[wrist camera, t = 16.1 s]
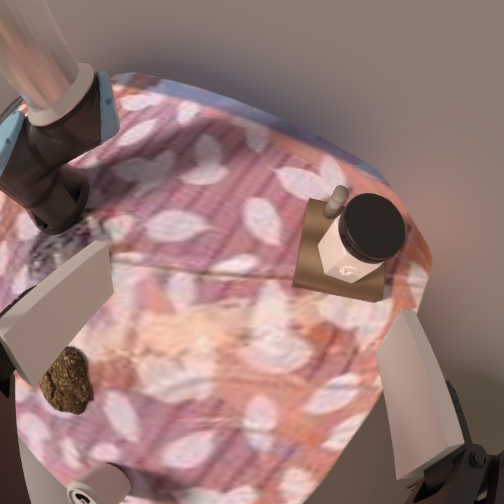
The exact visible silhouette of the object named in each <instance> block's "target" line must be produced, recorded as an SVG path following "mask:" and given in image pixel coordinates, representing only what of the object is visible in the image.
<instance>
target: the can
mask: <svg viewBox="0 0 504 504" xmlns="http://www.w3.org/2000/svg"><path fill="white" fill-rule="evenodd" d="M130 490H131V484H130V481H129V480H128V478H127V476H126V475H125V474H124V473H123V472H122V471H121V470H119V469H118V468H117V467H115V466H113V465H110V464H107V463H100V464H98V465H96V466H95V467H93V468H92V469H90V470H89V471H87V472H86V473H85V474H83V475H82V476H80V477H79V478H77V479H75V480H74V481H72V482H71V483H70V484H69V486H68V491H67V496H68V499H69V501H70V502H71V504H119V503H120V502H121V501H122V500H123V499H124V498H125V497H126V495H127V494H128V493H129V492H130Z"/></svg>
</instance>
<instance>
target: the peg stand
mask: <svg viewBox="0 0 504 504" xmlns="http://www.w3.org/2000/svg"><path fill="white" fill-rule="evenodd" d="M348 194H349V191H348V189H347V188H346V187H345V186H342V185H339V186H337V187H336V188H335V190H334V192H333V194H332V196H331V198H330V200H329V201H328V202H324V201H320V200H316V199H312V198H309V201H308V203H307V206H306V211H305V217H304V223H303V229H302V235H301V241H300V246H299V252H298V258H297V263H296V268H295V274H294V279H293V284H292V286H294V287H299V288H303V289H308V290H313V291H318V292H323V293H328V294H332V295H337V296H342V297H347V298H353V299H358V300H363V301H368V302H373V303H375V302H377V301H380V300H382V297H383V288H384V276H385V263H386V261H384V262H383V263H382V264H381V266H380V267H379V268H377V269H375V270H374V271H372V272H371V273H369V274H367V275H366V276H364V277H362V278H361V279H359V280H357V281H356V282H354V283H349V282H346V281H343V280H340V279H337V278H334V277H332V276H329V275H326V274H325V273H324V269H323V265H322V261H321V257H320V253H319V249H318V244H319V242H320V241H321V239H322V238H323V236H324V235H325V234H326V232H327V231H328V229H329V228H330V226H331V225H332V223H333V222H334V220H335V219H336V218H337V217H338V216H339V215H341V214H342V212H343V210H344V209H345V207H344V206H342V204H343V203H344V201H345V200H346V198H347V196H348ZM386 199H387V198H386ZM387 200H389V199H387ZM389 201H390V200H389ZM390 202H391V201H390ZM391 203H392V202H391Z"/></svg>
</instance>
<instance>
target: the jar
mask: <svg viewBox="0 0 504 504" xmlns="http://www.w3.org/2000/svg"><path fill="white" fill-rule="evenodd" d="M404 240H405V225H404V221H403V218H402V216H401V214H400V212H399V211H398V209H397V208H396V207H395V206H394V205H393V204H392V203H391V202H390V201H389V200H387V199H386V198H384V197H382V196H380V195H377V194H372V193H364V194H360V195H358V196H356V197H354V198H353V199H352V200H351V201H350V202H349V203H348V204H347V206H346V207H345V209H344V210H343V212H342V214H341V215H339V216H338V217H337V218H336V219H335V220H334V222H333V223H332V225H331V226H330V228H329V229H328V231H327V232H326V234H325V235H324V236H323V238H322V239H321V241H320V242H319V244H318V249H319V253H320V257H321V261H322V265H323V269H324V273H325V274H326V275H329V276H332V277H334V278H337V279H340V280H343V281H346V282H349V283H354V282H356V281H357V280H359V279H361V278H362V277H364V276H366V275H367V274H369V273H371V272H372V271H374V270H375V269H377V268H379V267H380V266H381V264H382V263H383V262H384V261H386V260H388V259H390V258H391V257H393V256H394V255H395V254H396V253H397V252H398V251H399V250H400V249H401V247H402V245H403V243H404Z"/></svg>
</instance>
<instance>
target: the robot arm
mask: <svg viewBox="0 0 504 504" xmlns="http://www.w3.org/2000/svg"><path fill="white" fill-rule="evenodd" d="M0 72H1V73H2V74H3V75H4V76H5V78H6V79H7V80H8V81H9V82H10V84H11V85H12V86H13V87H14V88H15V89H16V91H17V92H18V93H19V94H20V95H21V96H22V98H23V99H24V100H25V101H26V102H27V103H28V104H29V108H28V116H26V117H25V115H24V113H22V112H20V111H17V112H14V113H13V114H11V115H10V116H9V117H8V118H7V119H6V120H5V121H4V122H3V123H2V124H1V125H0V190H1V191H3V192H4V193H5V194H6V195H8V196H9V197H10V198H12V199H13V200H14V201H16V202H17V203H18V204H20V205H21V206H23V207H24V208H25V209H26V211H27V213H28V214H29V216H30V218H31V219H32V221H33V223H34V224H35V226H36V227H37V228H38V229H40V230H41V231H43V232H44V233H46V234H49V235H55V234H58V233H61V232H63V231H64V230H66V229H67V228H69V227H70V226H71V225H72V224H73V223H74V222H75V221H76V219H77V218H78V217H79V215H80V214H81V212H82V210H83V209H84V207H85V204H86V202H87V198H88V193H89V184H88V180H87V178H86V177H85V175H84V174H83V173H82V172H81V171H80V170H79V169H78V168H76V167H74V166H72V165H69V164H67V163H68V162H69V161H71V160H73V159H75V158H76V157H78V156H80V155H82V154H84V153H86V152H87V151H89V150H91V149H93V148H95V147H97V146H99V145H102V144H103V142H105V141H107V140H108V139H110V138H112V137H114V136H115V135H116V134H117V133H118V132H119V129H120V121H119V116H118V112H117V108H116V103H115V99H114V95H113V91H112V87H111V83H110V80H109V76H108V73H107V72H106V71H105V70H103V71H98V72H96V74H95V72H94V71H93V69H92V67H91V66H90V65H88V64H85V63H77V62H76V61H75V59H74V57H73V55H72V53H71V52H70V49H69V47H68V46H67V44H66V42H65V40H64V38H63V36H62V34H61V32H60V30H59V28H58V26H57V24H56V22H55V20H54V18H53V16H52V14H51V12H50V10H49V8H48V6H47V4H46V1H45V0H0ZM113 293H114V292H113V285H112V277H111V269H110V260H109V250H108V244H107V243H104V242H100V241H96V240H95V241H94V242H92V243H91V244H90V245H88V246H87V247H85V248H84V249H83V250H81V251H80V252H79V253H77V254H76V255H75V256H73V257H72V258H71V259H69V260H68V261H67V262H65V263H64V264H63V265H62V266H60V267H59V268H58V269H56V270H55V271H54V272H53V273H51V274H50V275H49V276H48V277H47V278H45V279H44V280H43V281H42V282H40V283H39V284H38V285H36V286H33V287H31V288H29V289H27V290H26V291H24V292H23V293H22V294H21V295H20V296H19V297H18V299H15V300H14V301H13V302H12V304H11V305H9V306H7V307H6V308H5V309H4V310H3V311H2V312H1V313H0V504H31V501H30V498H29V494H28V490H27V486H26V482H25V478H24V473H23V468H22V463H21V457H20V452H19V444H18V435H17V424H16V407H15V375H14V374H13V372H14V371H15V369H16V370H17V372H18V373H19V375H20V376H21V378H22V379H23V380H24V381H26V382H27V383H28V384H30V385H31V386H32V387H35V386H36V385H37V383H38V382H39V381H40V379H41V378H42V377H43V375H44V374H45V373H46V371H47V370H48V369H49V368H50V366H51V365H52V364H53V363H54V361H55V360H56V359H57V358H58V356H59V355H60V354H61V353H62V351H63V350H64V349H65V348H66V347H67V345H68V344H69V343H70V342H71V341H72V339H73V338H74V337H75V336H76V335H77V333H78V332H79V331H80V330H81V329H82V328H83V326H84V325H85V324H86V323H87V322H88V321H89V320H90V318H91V317H92V316H93V315H94V314H95V313H96V312H97V311H98V309H99V308H100V307H101V306H102V305H103V304H104V303H105V302H106V301H107V300H108V298H109V297H110V296H111V295H112V294H113ZM375 355H376V359H377V363H378V367H379V372H380V376H381V381H382V386H383V391H384V396H385V401H386V406H387V411H388V417H389V424H390V430H391V436H392V444H393V451H394V460H395V469H396V479H397V480H398V479H404V478H410V477H414V476H416V475H417V474H419V473H421V472H422V471H424V477H422V478H420V479H418V480H417V481H415V482H413V483H411V484H409V485H408V486H407V489H409V488H411V487H413V486H415V485H416V487H415V488H414V489H412V490H411V491H412V493H411V495H410V496H409V498H408V499H407V501H406V502H405V504H504V451H502V452H501V453H500V454H498V455H488V454H486V452H485V450H484V449H483V447H482V446H480V445H477V444H473V443H472V440H471V437H470V433H469V430H468V427H467V423H466V420H465V417H464V414H463V412H462V408H461V405H460V403H459V399H458V396H457V394H456V391H455V389H454V388H453V386H452V385H451V384H450V382H449V381H445V380H444V377H443V375H442V372H441V370H440V367H439V365H438V362H437V360H436V357H435V355H434V353H433V351H432V348H431V346H430V343H429V341H428V339H427V337H426V335H425V332H424V330H423V328H422V326H421V324H420V322H419V320H418V318H417V316H416V314H415V311H409V310H403V309H401V310H400V312H399V314H398V315H397V317H396V319H395V321H394V323H393V324H392V326H391V328H390V330H389V331H388V333H387V335H386V336H385V338H384V340H383V341H382V343H381V345H380V346H379V348H378V349H377V351H376V353H375ZM486 491H487V495H486V498H484V499H482V500H480V501H479V500H478V496H479V495H481V494H482V493H484V492H486Z"/></svg>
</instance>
